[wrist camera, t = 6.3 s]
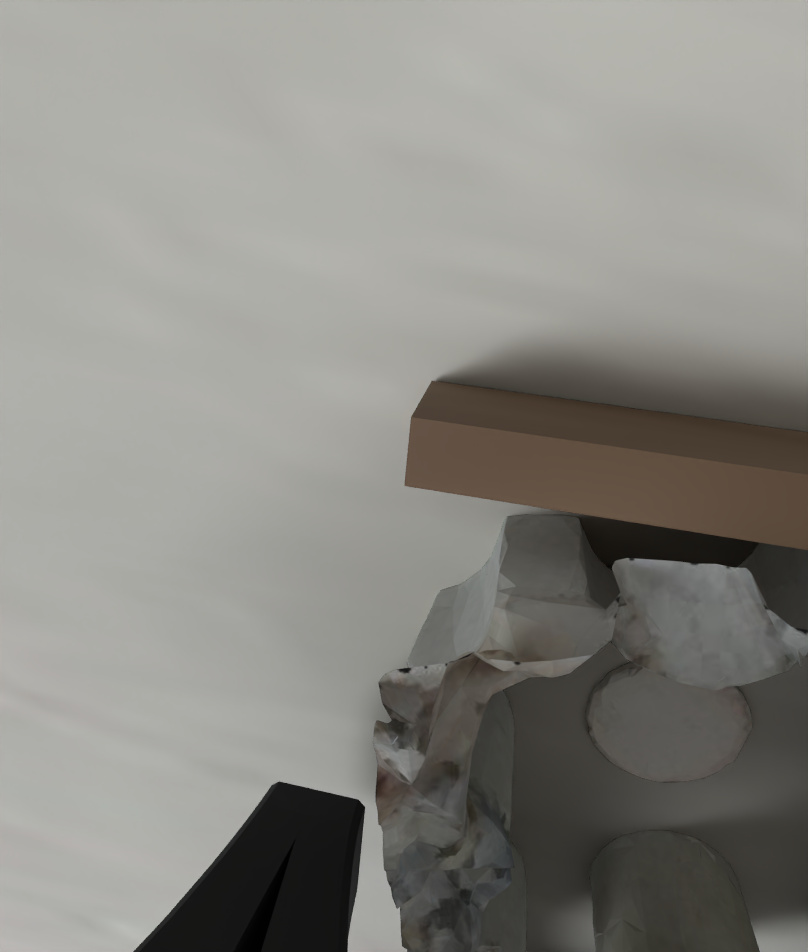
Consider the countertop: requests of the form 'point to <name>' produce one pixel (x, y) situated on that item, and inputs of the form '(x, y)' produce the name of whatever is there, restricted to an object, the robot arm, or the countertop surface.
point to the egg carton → (611, 728)
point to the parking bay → (612, 462)
